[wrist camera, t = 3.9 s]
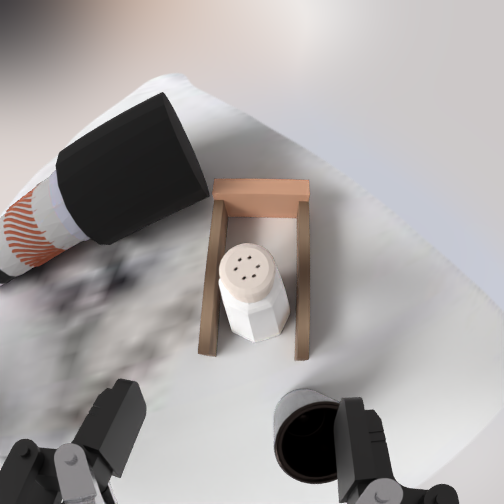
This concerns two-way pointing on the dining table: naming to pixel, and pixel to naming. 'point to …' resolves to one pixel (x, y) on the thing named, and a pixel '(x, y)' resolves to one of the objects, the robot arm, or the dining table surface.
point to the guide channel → (257, 205)
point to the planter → (306, 436)
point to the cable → (104, 188)
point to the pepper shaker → (253, 292)
